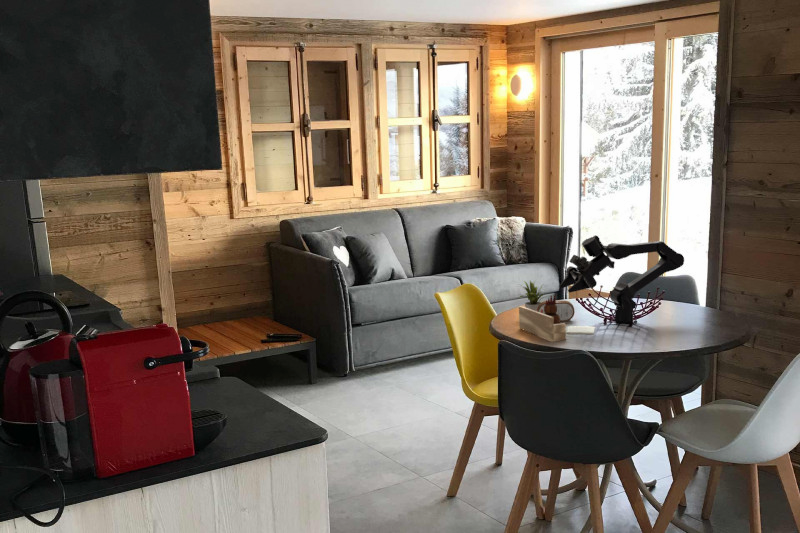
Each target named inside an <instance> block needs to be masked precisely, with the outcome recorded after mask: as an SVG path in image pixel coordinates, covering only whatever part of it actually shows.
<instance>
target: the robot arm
mask: <svg viewBox="0 0 800 533" xmlns="http://www.w3.org/2000/svg"><path fill="white" fill-rule="evenodd" d="M581 245H582V247H583V249H584V250H585V252H586V253H587V255H588V256H589V257H592V259H590V260H588V258H587V257H585V256H583V255H582V256H581V257H580V256H579V255H576V254H573V255H572V257H571V258H570V259H569V260H568V261H569V263H571V264H573V265H575V266H571V265H570V266H568V267H567V268H566V271H565V272H566V276H565V278H564V279H563V280H562V282H561V283H560V285H559V286H558V287H559V289H564V288H567V287H569V286H570V287H569V289H568V290H567V291H568V293H573V292H579V291H583V290H589V289H593V288H595V287H596V286H597V281H596V279H595V276H600V275H601V272H602V271H603V270H605V269H606V268H607V267H608V268H610V269H612V270H613V269H615V264H616V262H615V261H613V260H612V259H614V260H622V259H625V258H628V257H630V256H632V255H640V254H648V253H657V255H658V256H659V257H660V258H659V260H658V261H657V263H656V264H655V265H654V266H651V267H650V268H649V269H648V270H646V271H644V272H643V273H642V274H641V275H638V277H636V278H635V279H633V280H632V281H630V282H629V283H624V282H622V281H621V282H619V283H618V284H617V285H616V286H613V287H612V290H611V291H610V294H609V298H610V300H611V301H612V302H613V304H614V306H616V309H615V310H614V322H616V323H615V324H623V325H627V324H628V325H633V324H634V310H635V309H636V307H637V302H636V301H634V298H635V296H636V294H637V293H638V292H639V291H640V290H642V289H644V288H645V287H646V286H648V285H649V284H651V283H653V282H654V281H655V280H657V279H658V278H660V277H661V276H662V275H664V274H665V273H667V272H671V271H675V270H677V269H679V268H682V267H683V265H684V262H685V257H684V255H683V254H682V253H679V252H677V251H676V250H674V249H672V248H671V247H670V246H668V245H667V244H666V243H665V242H664V241H660V240H655V241H647V242H641V243H638V242H637V243H631V244H626V243H624V244H623V243H613V242H611V243H609V244H607V245H604V244H603V243H602V241H601V240H600V237H599V235H593V236H591V237H589V238H586V239H584V240H583V241H582V243H581Z"/></svg>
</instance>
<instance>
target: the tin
mask: <svg viewBox="0 0 800 533" xmlns="http://www.w3.org/2000/svg"><path fill="white" fill-rule="evenodd" d="M545 305H546V300H544V301H541V303H540V304H539V306H538V308H537V312H540V313H543V314H545V312H544V306H545ZM556 306H557V312H556V314H558V315H559V317H560V323H562V322H563V323H564V322H568V321H570V320H572V319H573V317H574V316H575V307H574V305H573V304H572V303H571V302H570V301H568V300H556Z"/></svg>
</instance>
